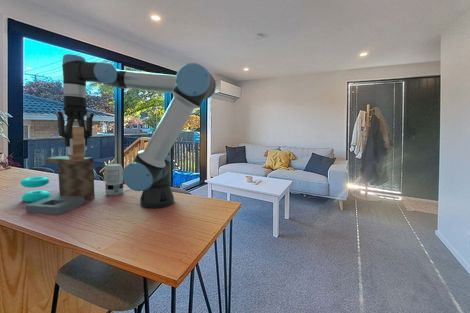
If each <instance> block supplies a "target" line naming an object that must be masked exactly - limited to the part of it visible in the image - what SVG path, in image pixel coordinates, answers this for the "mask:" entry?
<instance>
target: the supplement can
mask: <svg viewBox="0 0 470 313" xmlns="http://www.w3.org/2000/svg"><path fill="white" fill-rule="evenodd" d="M123 170H124V168H123V166H122V164H121V163H109V164H106V165H105V167H104V176H105V178H104V180H105V181H104V182H105V183H104V184H105V185H104V186H105V194H106V195H108V196H119V195H121V194H123V192H124V179H123Z"/></svg>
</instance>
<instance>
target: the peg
mask: <svg viewBox="0 0 470 313" xmlns="http://www.w3.org/2000/svg"><path fill="white" fill-rule="evenodd" d="M70 139H73V155H68V156H69V160H70V161H74V162H75V161H85V160H84V157H85V154H84V127H80V126H79V125H73V127H72V132H71V137H70Z"/></svg>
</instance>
